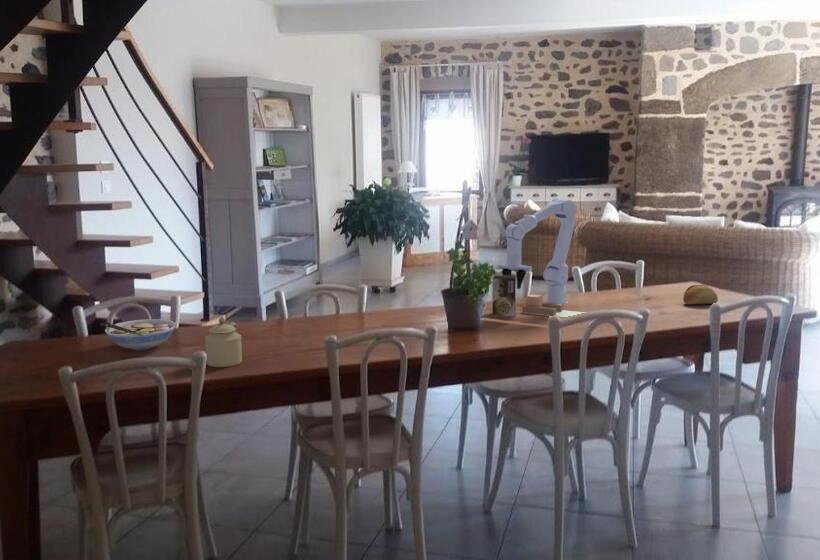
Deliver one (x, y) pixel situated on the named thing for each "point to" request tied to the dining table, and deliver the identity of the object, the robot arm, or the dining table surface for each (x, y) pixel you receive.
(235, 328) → the sugar bowl
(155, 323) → the ramen bowl
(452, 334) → the dining table surface
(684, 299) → the bread roll
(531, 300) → the block
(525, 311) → the chute board
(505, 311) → the coffee box
